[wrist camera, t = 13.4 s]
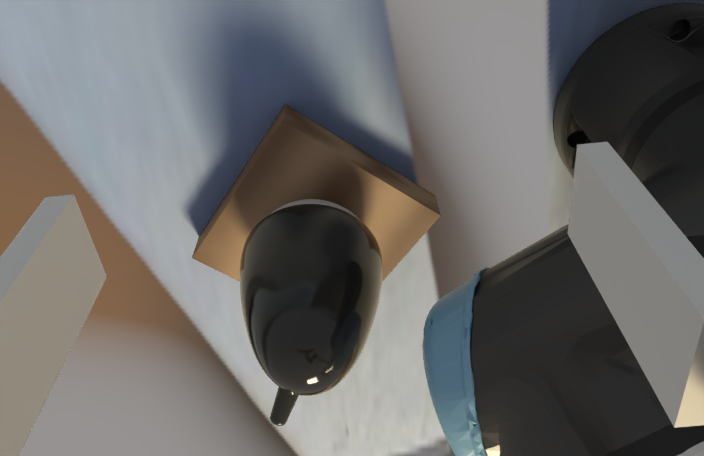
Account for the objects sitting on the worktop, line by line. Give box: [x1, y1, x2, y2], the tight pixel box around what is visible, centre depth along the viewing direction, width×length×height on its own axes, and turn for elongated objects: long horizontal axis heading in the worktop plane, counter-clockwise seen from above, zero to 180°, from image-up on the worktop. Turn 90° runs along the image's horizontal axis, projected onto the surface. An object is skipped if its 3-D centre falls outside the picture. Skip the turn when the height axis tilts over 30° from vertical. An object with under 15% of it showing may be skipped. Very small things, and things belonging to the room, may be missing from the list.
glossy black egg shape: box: [240, 199, 383, 426], centre depth 43 cm, size 10×10×15 cm
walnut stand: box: [192, 105, 440, 281], centre depth 50 cm, size 14×14×3 cm
